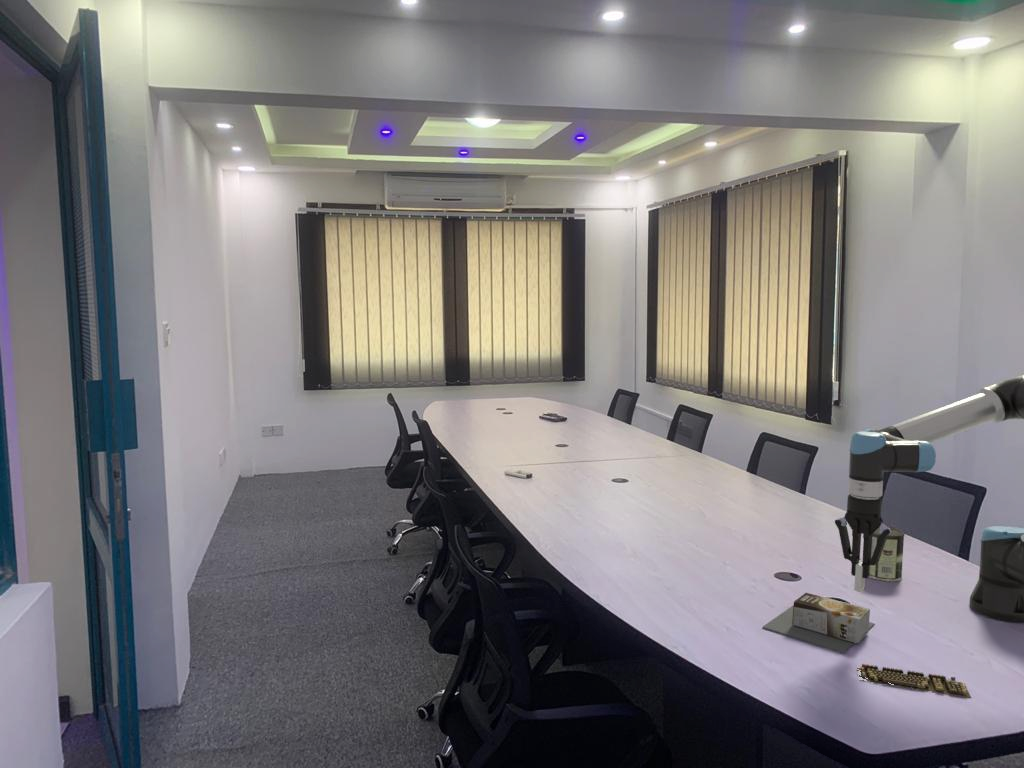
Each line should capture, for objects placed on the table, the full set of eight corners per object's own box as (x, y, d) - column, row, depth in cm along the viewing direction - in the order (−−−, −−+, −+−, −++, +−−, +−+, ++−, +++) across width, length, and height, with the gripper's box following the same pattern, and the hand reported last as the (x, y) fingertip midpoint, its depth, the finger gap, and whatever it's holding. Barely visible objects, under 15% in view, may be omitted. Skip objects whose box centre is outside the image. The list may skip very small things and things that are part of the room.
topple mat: (874, 624, 190) (874, 623, 190) (843, 653, 174) (843, 652, 174) (797, 603, 204) (798, 601, 204) (762, 628, 188) (762, 626, 188)
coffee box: (859, 618, 177) (792, 601, 188) (858, 644, 178) (791, 625, 188) (870, 608, 184) (805, 591, 195) (868, 632, 185) (804, 615, 195)
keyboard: (858, 684, 162) (858, 675, 161) (854, 665, 170) (854, 657, 170) (972, 702, 154) (973, 693, 154) (962, 682, 163) (963, 673, 162)
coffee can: (886, 568, 231) (889, 525, 229) (909, 580, 221) (912, 535, 219) (857, 570, 229) (859, 526, 228) (878, 582, 219) (881, 536, 218)
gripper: (831, 493, 180) (826, 586, 183) (888, 503, 172) (882, 601, 174) (842, 488, 186) (837, 578, 188) (898, 497, 177) (892, 592, 180)
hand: (859, 589), depth 181 cm, fingers closed
